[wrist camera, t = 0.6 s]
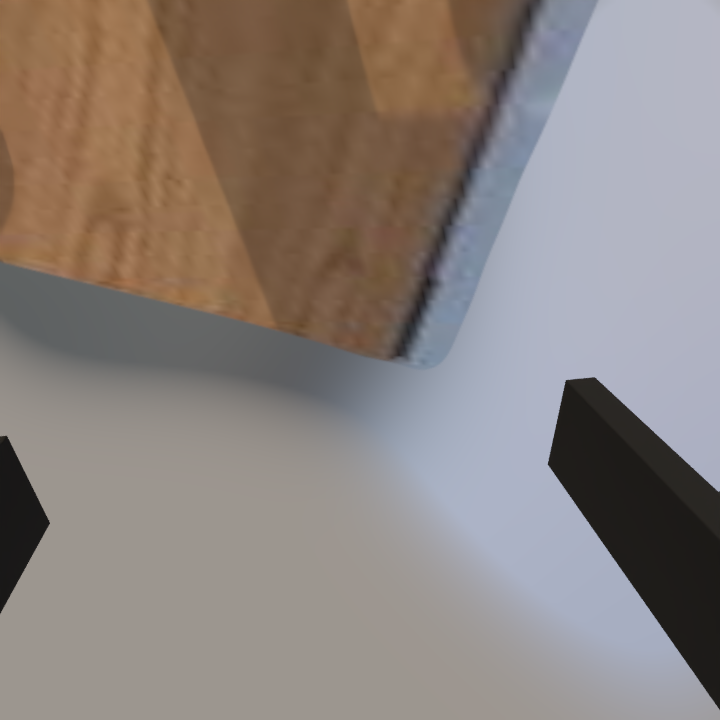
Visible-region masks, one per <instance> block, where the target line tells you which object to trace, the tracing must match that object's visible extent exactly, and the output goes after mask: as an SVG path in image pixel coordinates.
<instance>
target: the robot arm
mask: <svg viewBox="0 0 720 720" xmlns="http://www.w3.org/2000/svg"><path fill="white" fill-rule="evenodd" d="M548 465H549V467H550V468H551V469H552V471H553V472H554V474H555V475H556V477H557V478H558V479H559V481H560V482H561V484H562V485H563V486H564V488H565V489H566V491H567V492H568V494H569V495H570V497H571V498H572V499H573V501H574V502H575V504H576V505H577V507H578V508H579V510H580V511H581V512H582V514H583V515H584V517H585V518H586V519H587V521H588V522H589V524H590V525H591V527H592V528H593V530H594V531H595V532H596V534H597V535H598V537H599V538H600V540H601V541H602V542H603V544H604V545H605V547H606V548H607V549H608V551H609V552H610V554H611V555H612V557H613V558H614V560H615V561H616V562H617V564H618V565H619V567H620V568H621V569H622V571H623V572H624V574H625V575H626V577H627V578H628V580H629V581H630V582H631V584H632V585H633V587H634V588H635V589H636V591H637V592H638V594H639V595H640V597H641V598H642V599H643V601H644V602H645V604H646V605H647V606H648V608H649V609H650V611H651V612H652V614H653V615H654V616H655V618H656V619H657V621H658V622H659V624H660V625H661V627H662V628H663V629H664V631H665V632H666V634H667V635H668V637H669V638H670V639H671V641H672V642H673V644H674V645H675V647H676V648H677V649H678V651H679V652H680V654H681V655H682V657H683V658H684V659H685V661H686V662H687V664H688V665H689V667H690V668H691V669H692V671H693V672H694V673H695V675H696V676H697V678H698V679H699V681H700V682H701V684H702V685H703V687H704V688H705V689H706V691H707V692H708V694H709V695H710V697H711V698H712V699H713V701H714V702H715V704H716V705H717V706H718V708H719V709H720V492H718V491H717V490H716V489H715V488H713V487H712V486H711V485H710V484H709V483H708V482H707V481H706V480H705V479H704V478H703V477H702V476H700V475H699V474H698V473H697V472H696V471H695V470H694V469H693V468H692V467H691V466H690V465H689V464H688V463H686V462H685V461H684V460H683V459H682V458H681V457H680V456H679V455H678V454H677V453H676V452H675V451H673V450H672V449H671V448H670V447H669V446H668V445H667V444H666V443H665V442H664V441H663V440H662V439H660V438H659V437H658V436H657V435H656V434H655V433H654V432H653V431H652V430H651V429H650V428H649V427H648V426H647V425H645V424H644V423H643V422H642V421H641V420H640V419H639V418H638V417H637V416H636V415H635V414H634V413H633V412H632V411H630V410H629V409H628V408H627V407H626V406H625V405H624V404H623V403H622V402H621V401H620V400H619V399H617V398H616V397H615V396H614V395H613V394H612V393H611V392H610V391H609V390H608V389H607V388H606V387H604V385H602V384H601V383H600V382H599V381H598V380H597V379H596V378H584V379H573V380H566V382H565V387H564V391H563V396H562V401H561V406H560V410H559V415H558V419H557V424H556V429H555V434H554V438H553V443H552V447H551V452H550V457H549V461H548ZM49 524H50V522H49V520H48V518H47V516H46V514H45V512H44V510H43V508H42V506H41V504H40V502H39V500H38V498H37V496H36V494H35V492H34V490H33V488H32V486H31V484H30V482H29V480H28V478H27V476H26V474H25V472H24V470H23V468H22V465H21V463H20V461H19V459H18V457H17V455H16V453H15V451H14V449H13V447H12V445H11V443H10V441H9V439H8V437H7V436H2V437H0V613H1V611H2V609H3V607H4V605H5V604H6V602H7V600H8V599H9V597H10V594H11V593H12V591H13V589H14V587H15V586H16V584H17V582H18V580H19V579H20V577H21V575H22V573H23V571H24V569H25V568H26V566H27V564H28V562H29V560H30V558H31V557H32V555H33V553H34V551H35V549H36V548H37V546H38V544H39V542H40V540H41V538H42V537H43V535H44V533H45V531H46V529H47V528H48V526H49Z"/></svg>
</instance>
